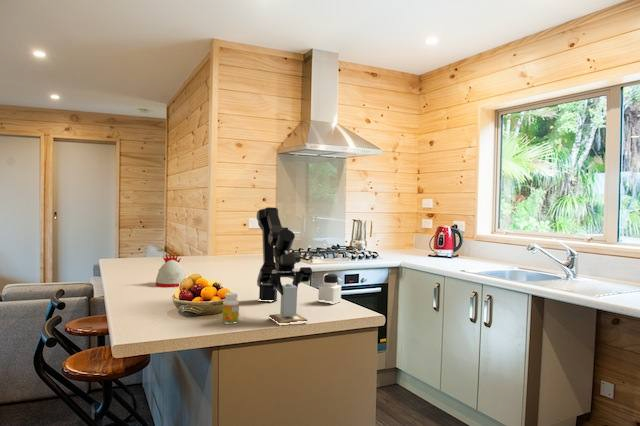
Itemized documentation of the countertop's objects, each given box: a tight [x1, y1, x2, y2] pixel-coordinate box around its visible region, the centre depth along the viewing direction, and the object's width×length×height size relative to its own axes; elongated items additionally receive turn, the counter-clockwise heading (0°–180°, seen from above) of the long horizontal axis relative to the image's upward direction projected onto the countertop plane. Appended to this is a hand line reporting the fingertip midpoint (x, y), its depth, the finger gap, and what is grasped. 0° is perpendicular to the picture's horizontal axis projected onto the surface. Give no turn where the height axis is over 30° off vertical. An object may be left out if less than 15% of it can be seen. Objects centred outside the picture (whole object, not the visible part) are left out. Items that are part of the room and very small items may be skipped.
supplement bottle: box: [221, 292, 240, 324], centre depth 157 cm, size 5×5×10 cm
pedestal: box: [268, 313, 308, 323], centre depth 162 cm, size 10×10×2 cm
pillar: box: [279, 283, 298, 317], centre depth 162 cm, size 4×4×11 cm
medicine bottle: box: [317, 273, 342, 302], centre depth 196 cm, size 7×7×12 cm
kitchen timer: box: [155, 253, 187, 288], centre depth 221 cm, size 14×14×15 cm
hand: (289, 294), depth 161 cm, fingers closed on pillar, 4 cm apart
